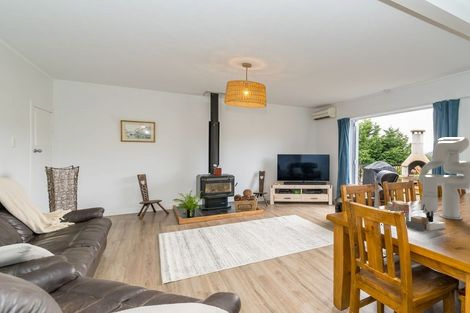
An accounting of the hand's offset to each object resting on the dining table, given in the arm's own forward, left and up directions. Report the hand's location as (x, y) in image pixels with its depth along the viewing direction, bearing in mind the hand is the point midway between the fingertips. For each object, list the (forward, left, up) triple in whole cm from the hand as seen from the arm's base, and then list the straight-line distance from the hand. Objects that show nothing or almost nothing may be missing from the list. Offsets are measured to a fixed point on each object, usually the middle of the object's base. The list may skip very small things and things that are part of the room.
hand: (429, 221), depth 155 cm
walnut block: (+10, 0, -3) cm, 10 cm away
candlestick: (+25, -18, -4) cm, 31 cm away
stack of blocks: (-1, -23, -4) cm, 24 cm away
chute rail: (+1, +5, -3) cm, 6 cm away
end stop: (+14, 0, -3) cm, 14 cm away
